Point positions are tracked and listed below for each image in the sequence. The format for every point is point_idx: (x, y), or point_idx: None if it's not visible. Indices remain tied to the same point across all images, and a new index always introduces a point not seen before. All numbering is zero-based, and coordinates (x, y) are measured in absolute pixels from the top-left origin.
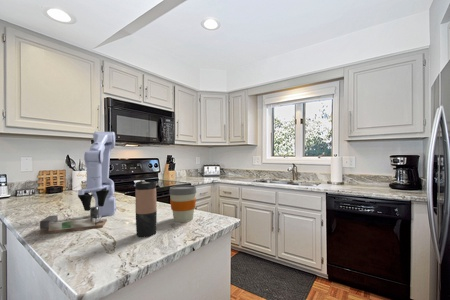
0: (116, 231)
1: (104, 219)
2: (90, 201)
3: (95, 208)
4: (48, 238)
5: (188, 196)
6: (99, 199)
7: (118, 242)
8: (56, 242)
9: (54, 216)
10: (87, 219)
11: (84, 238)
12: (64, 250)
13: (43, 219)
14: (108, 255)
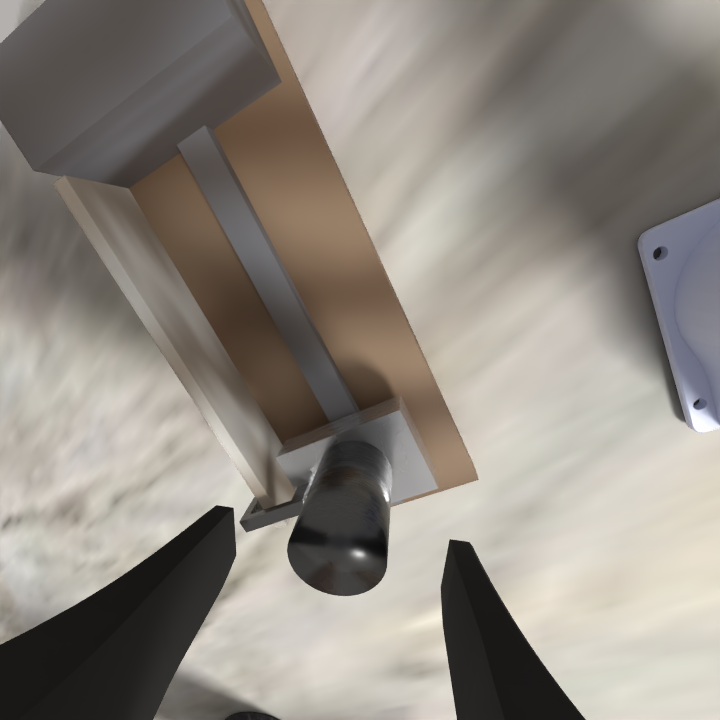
0: (269, 620)
1: (459, 469)
2: (147, 707)
3: (309, 578)
4: (73, 301)
5: None
6: (473, 659)
7: None
8: (54, 411)
9: (165, 46)
10: (247, 483)
11: (143, 520)
12: (16, 521)
13: (25, 27)
14: None
